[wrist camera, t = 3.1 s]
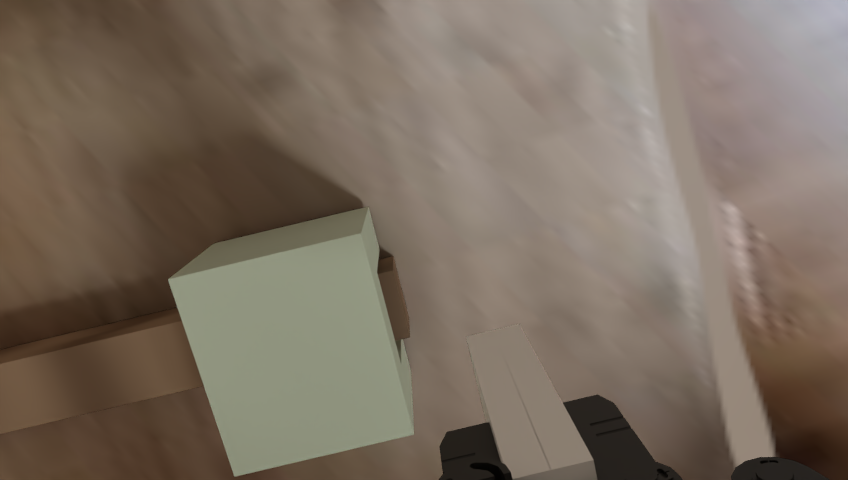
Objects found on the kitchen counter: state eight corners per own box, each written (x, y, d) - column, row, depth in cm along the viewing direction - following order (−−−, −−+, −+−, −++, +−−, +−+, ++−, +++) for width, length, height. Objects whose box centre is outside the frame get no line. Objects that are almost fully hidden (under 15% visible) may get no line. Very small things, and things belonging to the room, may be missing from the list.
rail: (382, 213, 28) (378, 243, 23) (419, 357, 30) (424, 419, 24) (-203, 353, 29) (-357, 418, 23) (-138, 488, 30) (-266, 581, 24)
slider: (368, 206, 28) (361, 233, 22) (411, 372, 30) (413, 434, 24) (213, 243, 28) (167, 279, 23) (264, 406, 30) (234, 476, 24)
